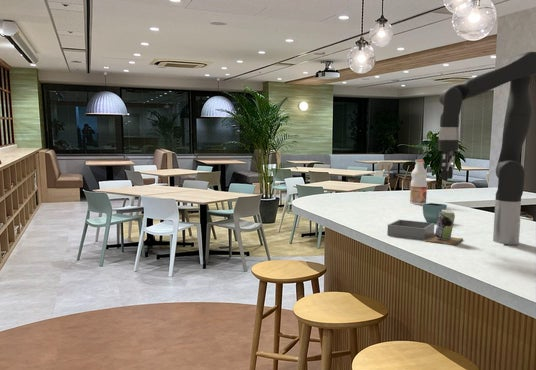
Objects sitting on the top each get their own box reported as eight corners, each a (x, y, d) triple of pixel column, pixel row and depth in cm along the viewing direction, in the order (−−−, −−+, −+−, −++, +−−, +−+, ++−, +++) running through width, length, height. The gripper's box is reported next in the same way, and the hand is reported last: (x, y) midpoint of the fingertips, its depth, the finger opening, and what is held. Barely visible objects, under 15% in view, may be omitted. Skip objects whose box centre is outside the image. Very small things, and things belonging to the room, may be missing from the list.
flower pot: (429, 220, 241) (430, 202, 240) (446, 222, 235) (447, 204, 234) (421, 222, 235) (421, 204, 234) (438, 224, 229) (439, 206, 228)
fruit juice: (408, 204, 294) (410, 159, 292) (424, 204, 293) (426, 159, 291) (411, 206, 285) (413, 160, 282) (427, 207, 284) (429, 160, 281)
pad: (462, 239, 196) (462, 238, 196) (456, 245, 186) (456, 244, 186) (432, 236, 202) (432, 235, 202) (425, 241, 192) (425, 240, 192)
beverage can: (438, 236, 199) (439, 208, 198) (456, 239, 194) (457, 210, 193) (432, 239, 194) (433, 210, 193) (450, 241, 189) (452, 211, 188)
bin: (434, 233, 208) (434, 223, 208) (424, 239, 195) (424, 228, 195) (398, 229, 217) (399, 219, 216) (387, 235, 204) (387, 224, 203)
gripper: (454, 139, 182) (453, 181, 183) (462, 138, 194) (460, 178, 195) (434, 138, 186) (433, 180, 187) (443, 138, 198) (441, 177, 199)
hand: (447, 179), depth 191 cm, fingers open, 8 cm apart
